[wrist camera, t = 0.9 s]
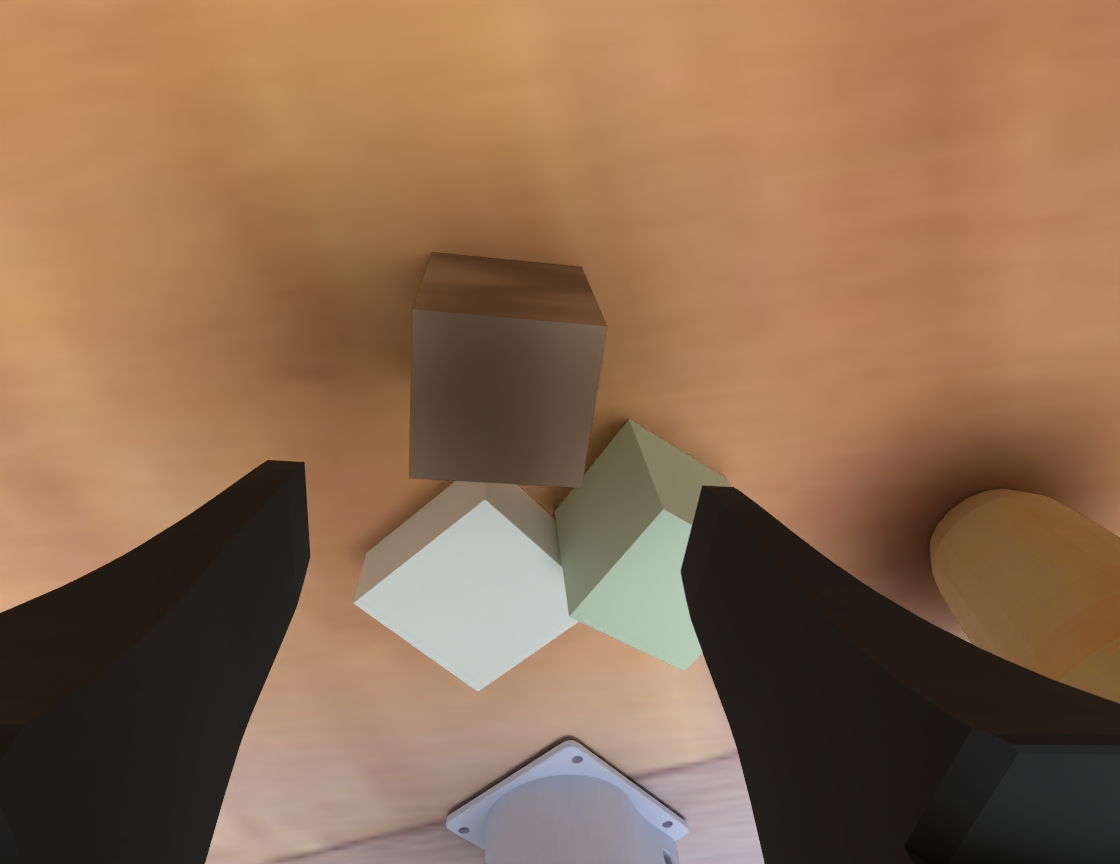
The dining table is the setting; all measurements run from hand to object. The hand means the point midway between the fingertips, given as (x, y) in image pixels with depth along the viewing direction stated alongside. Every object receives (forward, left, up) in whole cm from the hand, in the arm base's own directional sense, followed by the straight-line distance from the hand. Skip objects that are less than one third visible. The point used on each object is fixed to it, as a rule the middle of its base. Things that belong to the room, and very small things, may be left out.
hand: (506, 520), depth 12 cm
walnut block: (0, 0, -10) cm, 10 cm away
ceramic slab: (-6, +7, -11) cm, 14 cm away
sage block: (-8, +1, -10) cm, 13 cm away
